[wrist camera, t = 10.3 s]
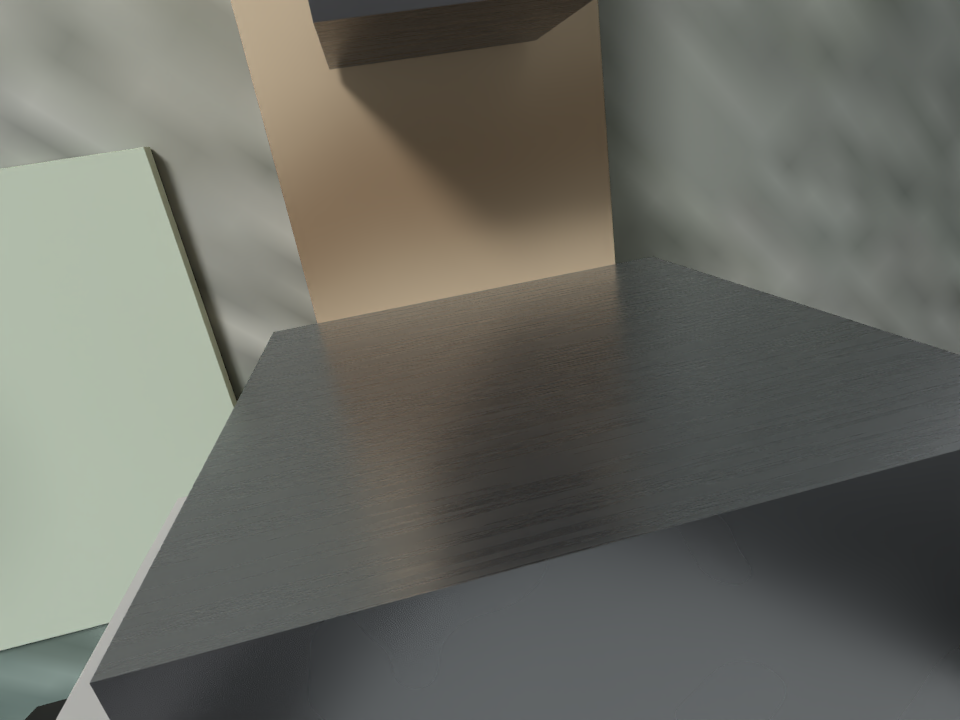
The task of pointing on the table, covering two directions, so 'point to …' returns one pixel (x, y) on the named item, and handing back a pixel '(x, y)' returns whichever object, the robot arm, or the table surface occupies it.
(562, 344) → the gray cube on plate
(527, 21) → the latch
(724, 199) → the table surface
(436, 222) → the long wooden block
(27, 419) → the mat
